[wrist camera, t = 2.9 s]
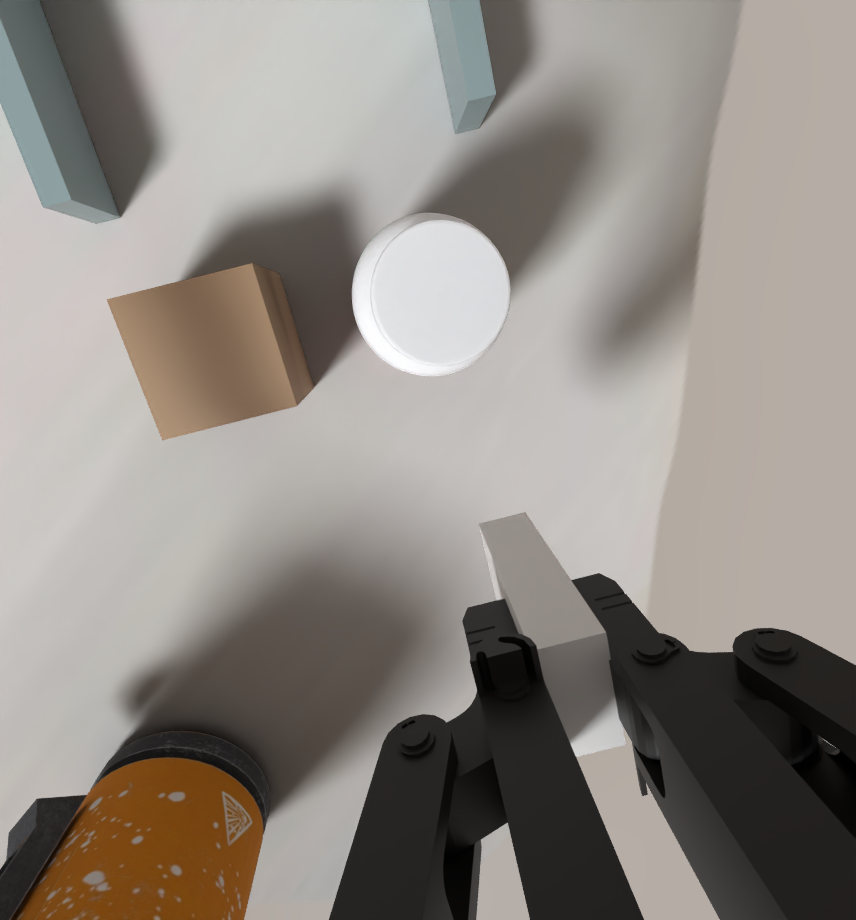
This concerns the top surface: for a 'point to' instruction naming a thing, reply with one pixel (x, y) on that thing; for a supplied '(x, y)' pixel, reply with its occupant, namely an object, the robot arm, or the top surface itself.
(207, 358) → the tan block
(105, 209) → the box
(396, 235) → the pill bottle
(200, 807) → the canister
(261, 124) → the top surface
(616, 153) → the top surface
